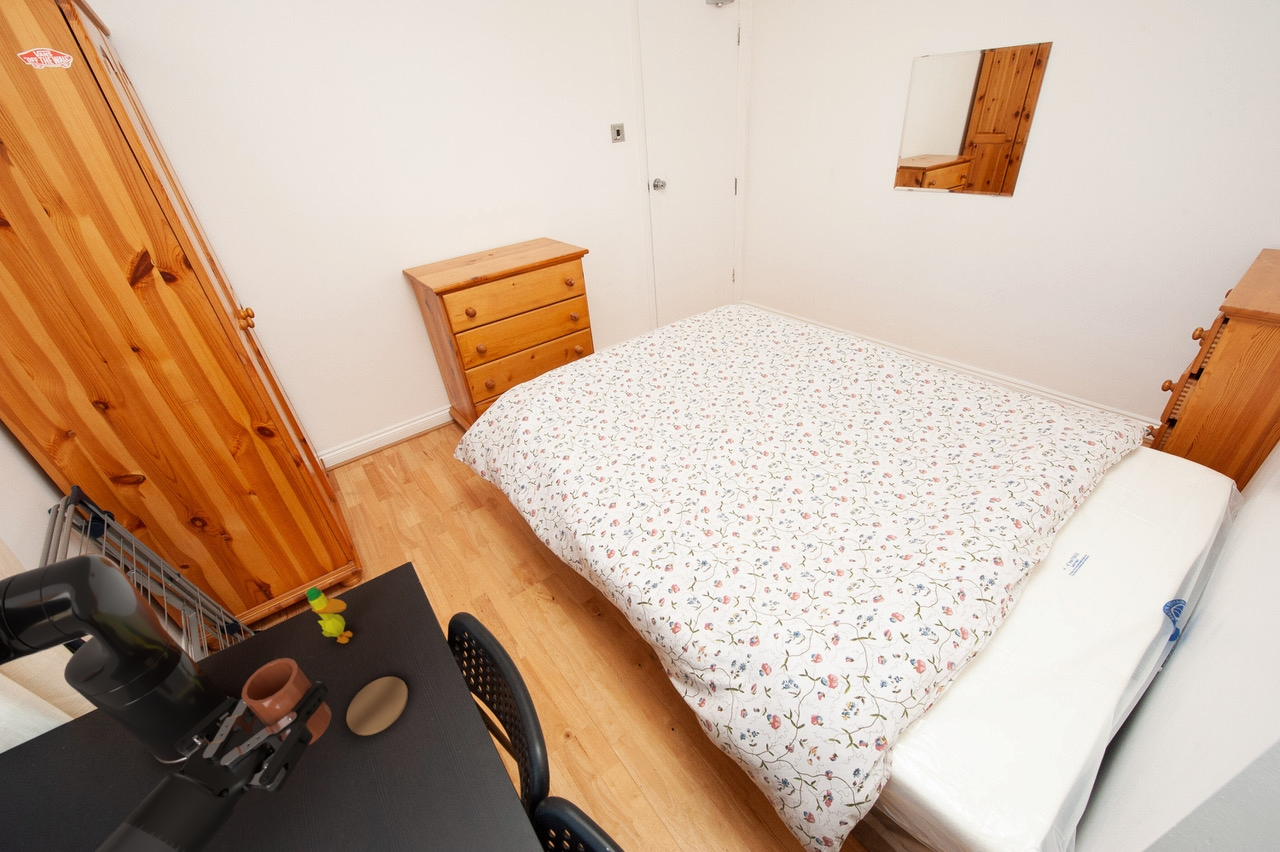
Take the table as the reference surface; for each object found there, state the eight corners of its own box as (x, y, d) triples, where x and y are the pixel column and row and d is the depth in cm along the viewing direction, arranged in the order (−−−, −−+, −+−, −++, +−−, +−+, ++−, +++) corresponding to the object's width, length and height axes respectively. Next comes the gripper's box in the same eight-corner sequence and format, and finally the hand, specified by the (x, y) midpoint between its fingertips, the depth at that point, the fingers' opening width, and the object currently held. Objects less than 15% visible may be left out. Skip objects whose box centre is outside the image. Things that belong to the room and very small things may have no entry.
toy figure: (370, 629, 85) (342, 582, 79) (358, 648, 82) (328, 601, 76) (334, 628, 86) (304, 581, 80) (321, 647, 83) (288, 600, 77)
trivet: (334, 726, 72) (332, 724, 71) (376, 672, 78) (374, 670, 78) (381, 742, 69) (379, 740, 69) (420, 685, 76) (419, 683, 76)
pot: (271, 742, 60) (230, 697, 55) (308, 699, 64) (273, 653, 59) (306, 755, 58) (266, 710, 53) (341, 710, 63) (308, 664, 57)
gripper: (185, 858, 43) (338, 675, 56) (79, 805, 47) (245, 646, 60) (230, 887, 47) (362, 710, 60) (128, 836, 51) (274, 681, 64)
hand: (303, 679), depth 60 cm, fingers closed on pot, 5 cm apart
